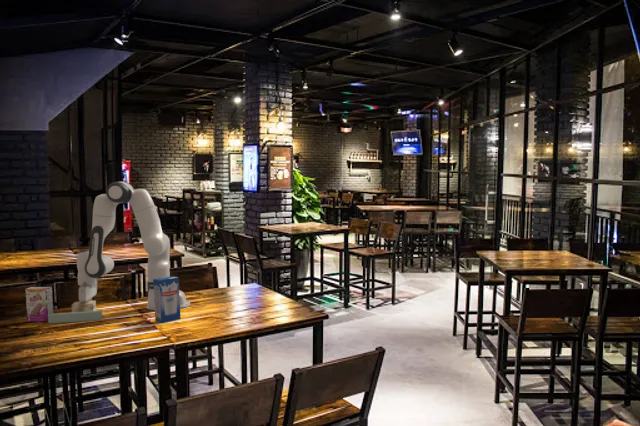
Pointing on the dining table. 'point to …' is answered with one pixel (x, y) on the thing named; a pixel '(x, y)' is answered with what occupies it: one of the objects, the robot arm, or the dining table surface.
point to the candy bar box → (39, 303)
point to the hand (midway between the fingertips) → (88, 306)
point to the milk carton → (166, 299)
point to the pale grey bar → (75, 316)
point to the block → (84, 306)
